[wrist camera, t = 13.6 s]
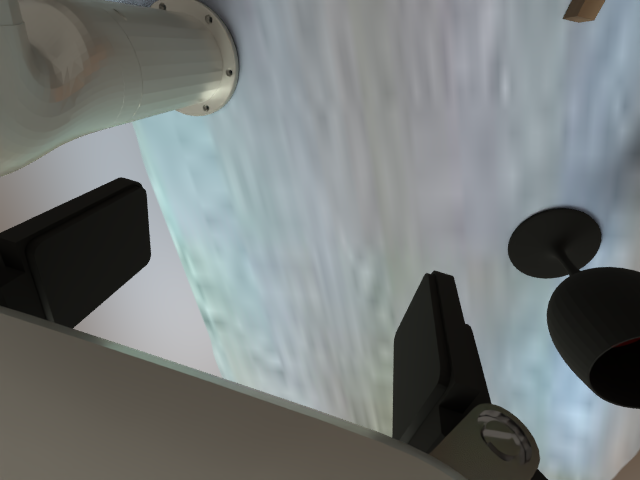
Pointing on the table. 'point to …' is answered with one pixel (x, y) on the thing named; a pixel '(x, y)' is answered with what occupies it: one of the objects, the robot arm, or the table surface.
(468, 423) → the robot arm
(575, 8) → the walnut bay
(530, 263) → the wine glass
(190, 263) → the table surface
